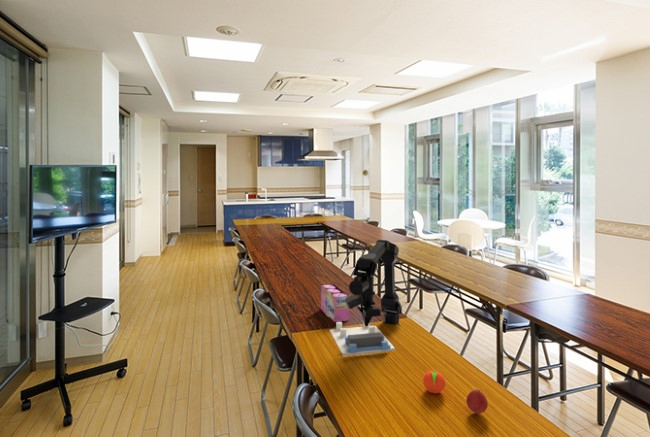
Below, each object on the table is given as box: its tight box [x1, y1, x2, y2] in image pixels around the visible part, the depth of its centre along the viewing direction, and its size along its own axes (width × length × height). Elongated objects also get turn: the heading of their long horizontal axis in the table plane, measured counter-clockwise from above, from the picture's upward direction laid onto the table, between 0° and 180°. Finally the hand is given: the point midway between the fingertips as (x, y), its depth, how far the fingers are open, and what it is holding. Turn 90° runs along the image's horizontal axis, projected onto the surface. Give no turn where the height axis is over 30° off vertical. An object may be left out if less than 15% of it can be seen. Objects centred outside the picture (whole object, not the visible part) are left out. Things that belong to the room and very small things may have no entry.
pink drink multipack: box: [320, 282, 350, 323], centre depth 195 cm, size 24×8×14 cm, turn 18°
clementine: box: [422, 369, 446, 394], centre depth 124 cm, size 8×7×7 cm
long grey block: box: [348, 331, 385, 348], centre depth 156 cm, size 14×4×4 cm, turn 102°
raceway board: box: [329, 320, 396, 357], centre depth 164 cm, size 22×25×4 cm
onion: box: [466, 388, 489, 416], centre depth 113 cm, size 6×6×8 cm
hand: (366, 325), depth 155 cm, fingers closed
